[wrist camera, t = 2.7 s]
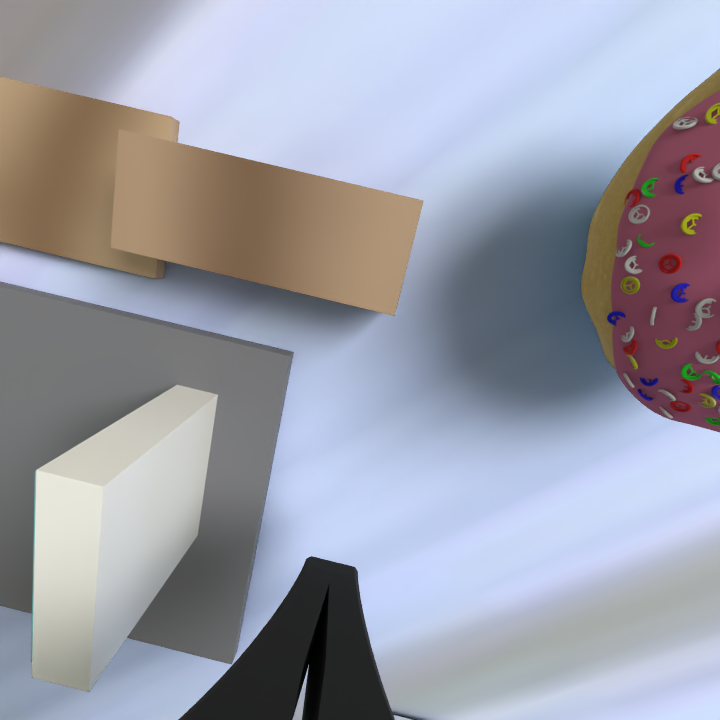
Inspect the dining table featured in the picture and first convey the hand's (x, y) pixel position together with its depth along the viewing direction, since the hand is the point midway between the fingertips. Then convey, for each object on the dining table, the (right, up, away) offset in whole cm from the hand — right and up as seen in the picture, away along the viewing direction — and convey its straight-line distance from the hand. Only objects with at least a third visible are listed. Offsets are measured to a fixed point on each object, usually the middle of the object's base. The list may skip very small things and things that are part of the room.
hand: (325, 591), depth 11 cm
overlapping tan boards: (-4, +11, +3) cm, 12 cm away
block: (-6, +2, +4) cm, 7 cm away
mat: (-9, +1, +5) cm, 10 cm away
